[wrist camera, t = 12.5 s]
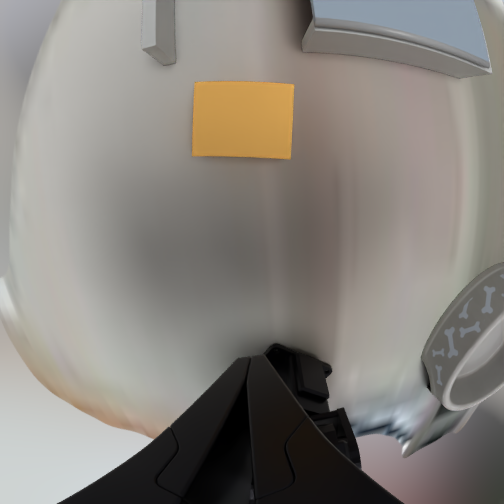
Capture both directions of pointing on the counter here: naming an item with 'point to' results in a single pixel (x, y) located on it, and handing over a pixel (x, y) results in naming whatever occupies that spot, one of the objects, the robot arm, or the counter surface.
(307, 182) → the counter surface
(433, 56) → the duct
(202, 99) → the mustard yellow box
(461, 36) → the panel
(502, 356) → the dog bowl
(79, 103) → the counter surface
